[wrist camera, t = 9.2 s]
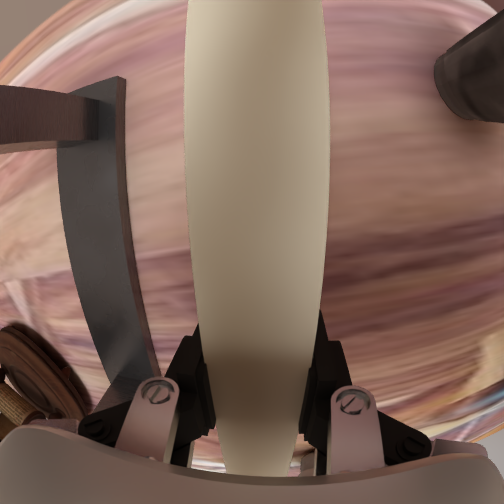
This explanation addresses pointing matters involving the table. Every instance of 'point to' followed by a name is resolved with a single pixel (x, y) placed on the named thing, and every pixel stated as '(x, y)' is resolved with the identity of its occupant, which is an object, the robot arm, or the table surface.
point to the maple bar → (257, 213)
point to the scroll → (33, 385)
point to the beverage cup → (475, 73)
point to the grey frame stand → (91, 216)
